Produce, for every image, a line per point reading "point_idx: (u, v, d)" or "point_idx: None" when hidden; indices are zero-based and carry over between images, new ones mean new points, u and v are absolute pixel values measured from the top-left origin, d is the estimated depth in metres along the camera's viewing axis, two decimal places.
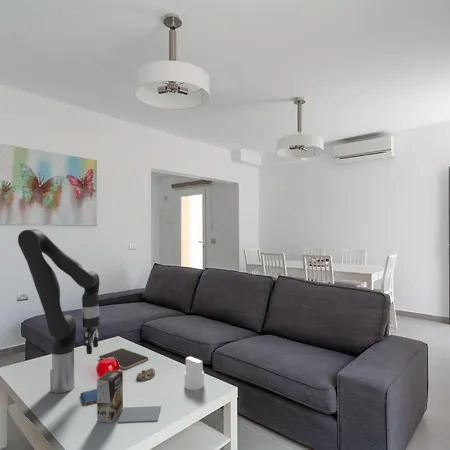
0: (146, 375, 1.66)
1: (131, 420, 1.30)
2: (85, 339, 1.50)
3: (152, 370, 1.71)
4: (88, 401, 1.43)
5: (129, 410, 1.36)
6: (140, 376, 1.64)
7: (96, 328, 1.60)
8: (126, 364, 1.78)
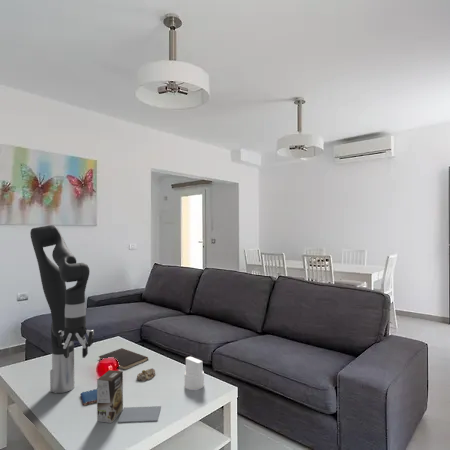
0: (146, 375, 1.65)
1: (131, 420, 1.30)
2: (92, 338, 1.33)
3: (152, 370, 1.71)
4: (88, 401, 1.43)
5: (129, 410, 1.36)
6: (140, 376, 1.64)
7: None
8: (126, 364, 1.78)
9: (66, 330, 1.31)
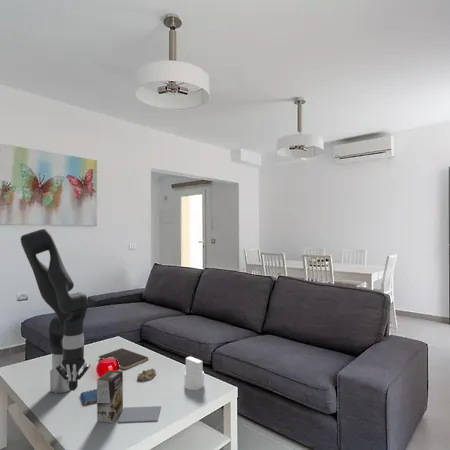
0: (147, 375, 1.65)
1: (131, 420, 1.30)
2: (84, 373, 1.32)
3: (153, 370, 1.70)
4: (88, 401, 1.43)
5: (129, 410, 1.36)
6: (141, 376, 1.64)
7: None
8: (126, 364, 1.78)
9: (63, 361, 1.31)
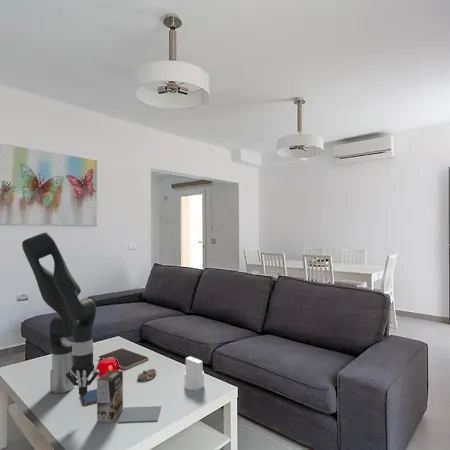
0: (147, 375, 1.65)
1: (131, 420, 1.30)
2: (94, 378, 1.33)
3: (153, 370, 1.70)
4: (88, 401, 1.43)
5: (129, 410, 1.36)
6: (141, 376, 1.63)
7: None
8: (126, 364, 1.78)
9: (73, 367, 1.32)
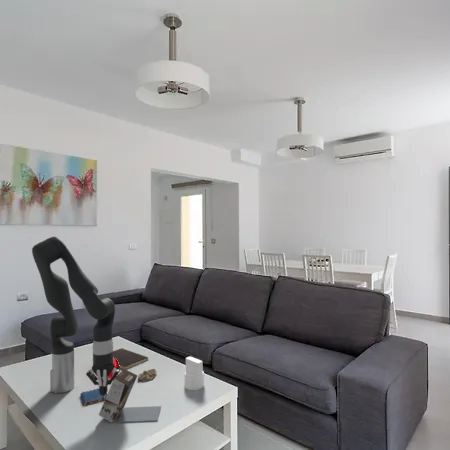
0: (147, 376, 1.65)
1: (131, 420, 1.30)
2: None
3: (154, 371, 1.70)
4: (88, 401, 1.43)
5: (129, 410, 1.36)
6: (141, 377, 1.63)
7: None
8: (126, 364, 1.78)
9: (93, 367, 1.32)
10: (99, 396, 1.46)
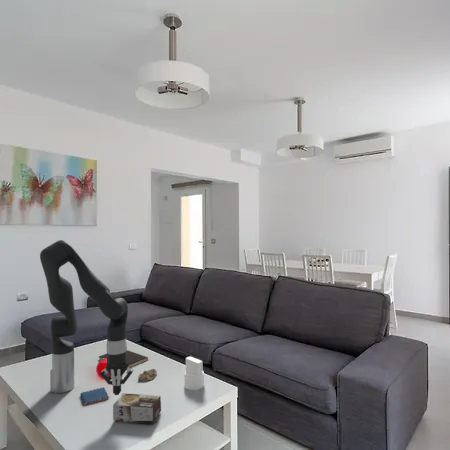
0: (148, 376, 1.65)
1: None
2: (128, 377, 1.33)
3: (154, 371, 1.70)
4: (88, 401, 1.43)
5: None
6: (142, 377, 1.63)
7: None
8: None
9: (107, 366, 1.32)
10: (99, 396, 1.46)
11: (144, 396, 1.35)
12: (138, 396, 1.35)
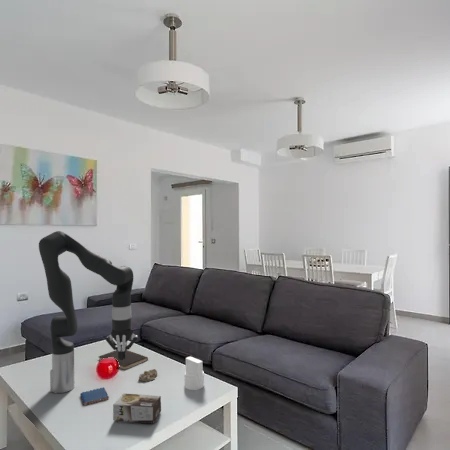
0: (148, 376, 1.65)
1: None
2: (133, 343, 1.36)
3: (155, 371, 1.70)
4: (88, 401, 1.43)
5: None
6: (142, 377, 1.63)
7: None
8: (126, 364, 1.78)
9: (112, 332, 1.34)
10: (99, 396, 1.46)
11: (144, 396, 1.35)
12: (138, 396, 1.35)
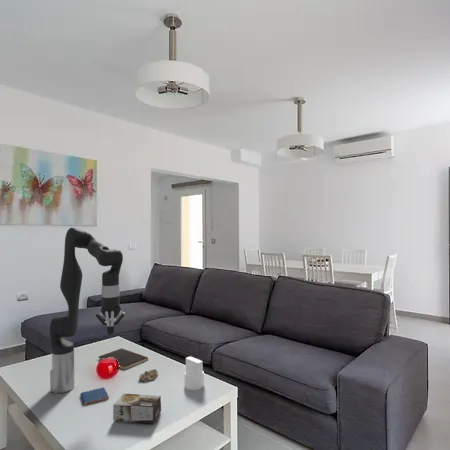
0: (149, 376, 1.64)
1: None
2: None
3: (155, 371, 1.70)
4: (88, 401, 1.43)
5: None
6: (143, 377, 1.63)
7: None
8: (126, 364, 1.78)
9: (102, 309, 1.48)
10: (99, 396, 1.46)
11: (144, 396, 1.35)
12: (138, 396, 1.35)
